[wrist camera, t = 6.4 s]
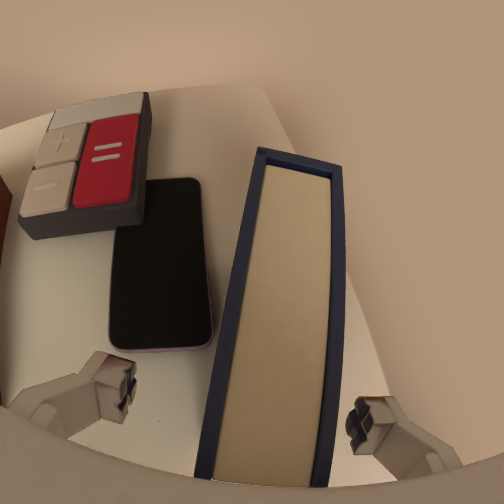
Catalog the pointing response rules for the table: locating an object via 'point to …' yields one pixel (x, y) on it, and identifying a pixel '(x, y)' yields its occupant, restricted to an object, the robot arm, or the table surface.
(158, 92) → the table surface
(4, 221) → the encyclopedia
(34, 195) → the calculator
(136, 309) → the smartphone
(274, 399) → the hardcover book
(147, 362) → the table surface
